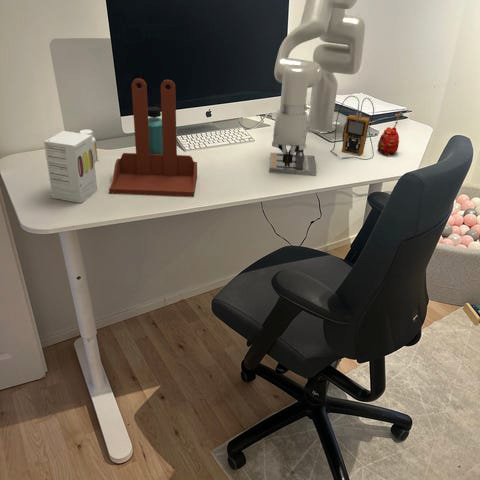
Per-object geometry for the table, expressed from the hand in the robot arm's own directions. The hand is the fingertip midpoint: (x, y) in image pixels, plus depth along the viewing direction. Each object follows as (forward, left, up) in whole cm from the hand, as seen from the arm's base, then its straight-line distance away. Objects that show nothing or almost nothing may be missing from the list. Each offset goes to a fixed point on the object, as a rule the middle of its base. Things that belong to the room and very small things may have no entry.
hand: (287, 164), depth 165 cm
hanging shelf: (+17, -39, -3) cm, 43 cm away
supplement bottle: (+2, -64, -3) cm, 64 cm away
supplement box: (+26, -60, -3) cm, 65 cm away
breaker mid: (-5, +4, -1) cm, 6 cm away
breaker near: (0, +4, -1) cm, 4 cm away
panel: (-5, +2, -3) cm, 6 cm away
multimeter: (-17, +22, -3) cm, 28 cm away
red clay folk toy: (-23, +36, -3) cm, 43 cm away
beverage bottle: (+6, -41, -3) cm, 42 cm away
